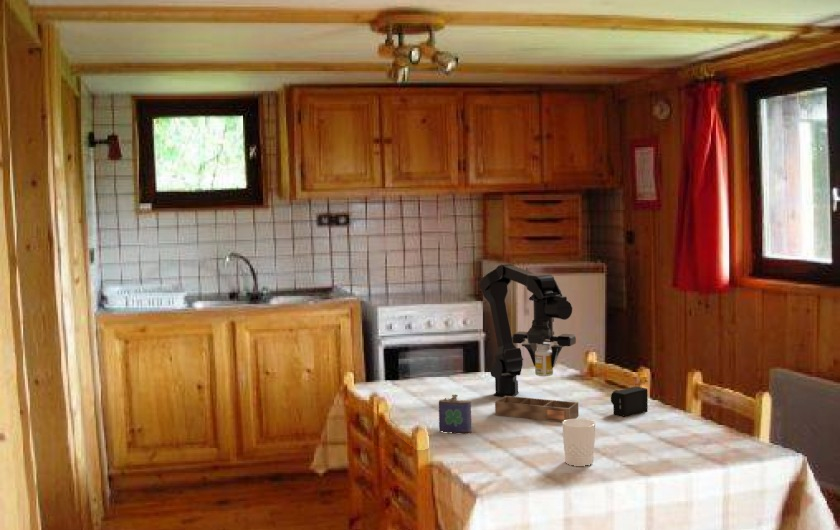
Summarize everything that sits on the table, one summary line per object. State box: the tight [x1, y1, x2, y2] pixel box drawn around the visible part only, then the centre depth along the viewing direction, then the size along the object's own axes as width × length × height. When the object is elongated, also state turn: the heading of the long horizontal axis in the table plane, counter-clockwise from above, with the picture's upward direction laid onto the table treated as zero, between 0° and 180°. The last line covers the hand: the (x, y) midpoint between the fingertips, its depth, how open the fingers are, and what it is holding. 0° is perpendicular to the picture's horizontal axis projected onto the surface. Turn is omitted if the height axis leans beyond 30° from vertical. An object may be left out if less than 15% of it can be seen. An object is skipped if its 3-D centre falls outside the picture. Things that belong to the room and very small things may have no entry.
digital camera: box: [610, 386, 649, 418], centre depth 263 cm, size 10×5×7 cm, turn 127°
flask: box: [438, 394, 473, 434], centre depth 248 cm, size 9×3×11 cm, turn 74°
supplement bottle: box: [534, 342, 554, 377], centre depth 272 cm, size 5×5×10 cm
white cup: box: [561, 418, 596, 467], centre depth 217 cm, size 8×8×10 cm
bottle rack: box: [494, 396, 580, 423], centre depth 263 cm, size 23×8×4 cm, turn 62°
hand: (544, 366), depth 272 cm, fingers closed on supplement bottle, 5 cm apart
